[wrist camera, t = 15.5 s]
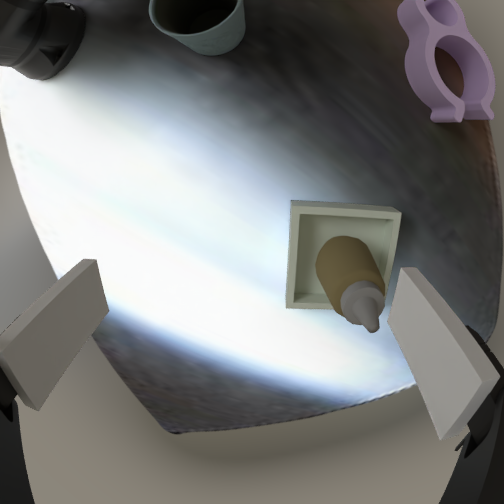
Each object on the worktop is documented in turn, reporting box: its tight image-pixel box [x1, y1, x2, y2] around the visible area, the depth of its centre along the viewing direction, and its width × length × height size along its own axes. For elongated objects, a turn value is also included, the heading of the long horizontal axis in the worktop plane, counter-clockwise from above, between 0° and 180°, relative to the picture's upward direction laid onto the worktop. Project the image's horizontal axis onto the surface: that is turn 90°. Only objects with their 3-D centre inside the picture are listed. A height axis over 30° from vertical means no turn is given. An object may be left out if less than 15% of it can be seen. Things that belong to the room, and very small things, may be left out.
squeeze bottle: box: [315, 236, 385, 333], centre depth 33 cm, size 8×8×18 cm
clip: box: [397, 0, 495, 123], centre depth 26 cm, size 20×12×7 cm, turn 16°
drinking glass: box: [149, 0, 246, 56], centre depth 26 cm, size 10×10×12 cm
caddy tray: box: [285, 200, 401, 309], centre depth 41 cm, size 15×15×4 cm
